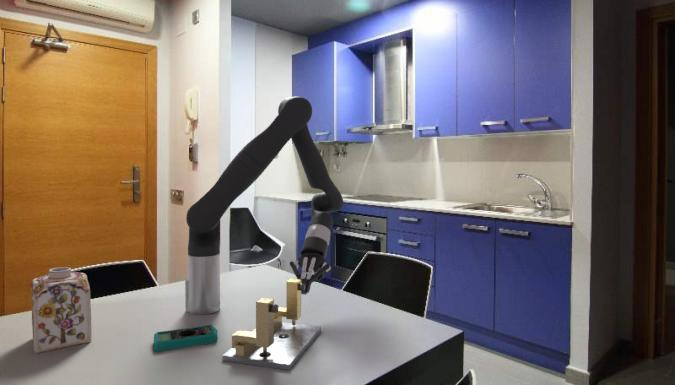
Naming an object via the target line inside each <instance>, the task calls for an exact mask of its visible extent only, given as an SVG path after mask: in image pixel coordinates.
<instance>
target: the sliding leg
mask: <svg viewBox="0 0 675 385" xmlns="http://www.w3.org/2000/svg"><path fill="white" fill-rule="evenodd" d="M304 290H305V284H301V279H297V278H290V279H288V280H286V300H285V301H286V307H280V306H279V309H278V312H277V313H274V316H282V318H283V317H284V318H286V320H291V323H292V325H296V324H297V323H296V322H297V321H298V320H299V319H300V318H301V317H302V294H301V291H304Z"/></svg>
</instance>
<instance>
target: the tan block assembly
mask: <svg viewBox="0 0 675 385" xmlns="http://www.w3.org/2000/svg"><path fill="white" fill-rule="evenodd" d="M279 307H280V306H279V304H275V299H274V298H265V297H261V298H260V299H258V300H257V301H256V302H255V329H253V330H254V331H253V330H252V331H253V332H252V331H247V330H237V331H236V332H234V333H233V334H231V348H235V351H236V356H238V357H245V356H246V355H247V354H248V353H249V352H250V351H251V350H252V349H253V348H255V347H256V346H258V347H263V355H267V348H269V347H270V346H271V345H272V344H273V343H274V330H275V329H276V328H277V327H278V326H279V325H280V324H281V323H282V322H283V317H282V316H274V313H277V312H278V309H279Z"/></svg>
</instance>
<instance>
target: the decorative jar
mask: <svg viewBox="0 0 675 385" xmlns="http://www.w3.org/2000/svg"><path fill="white" fill-rule="evenodd" d="M30 289H31V328H32V343H33V351H34V352H35V353H36V354H40V353H44V352H49V351H53V350H58V349H64V348H68V347H73V346H78V345H82V344H87V343H91V342H92V337H93V336H92V335H93V334H92V330H93V329H92V326H93V325H92V307H91V305H92V302H91V288H90V282H89V279H88V276H87V274H86V273H84V272H79V271H78V272H77V271H72V268H71V267H68V266H67V267H65V266H61V267H60V266H59V267H54V268H53V267H52V268H50V269H49V270H48V274H44V275H42V276H39V277H36V278H33V279H32V280H31V284H30Z"/></svg>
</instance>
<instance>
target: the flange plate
mask: <svg viewBox="0 0 675 385" xmlns="http://www.w3.org/2000/svg"><path fill="white" fill-rule="evenodd" d="M254 330H255V329H253V330H252V331H251V332H253V331H254ZM321 331H322V326H318V325H311V324H310V325H309V324H301V323H296V325H292V322H283V321H282V323H281V324H280V325H279V326H278V327H277V328H276V329H275V330H274V343H273V344H272V345H271V346H270V347H269V348H267V355H263V347H258V346H256V347H255V348H253V349H252V350H251V351H250V352H249V353H248V354H247V355H246V356H245V357H238V356H236V351H235V348H232V347H231V348H229V349H228V350H227V351H226V352H224V354H222V358H221V359H222V362H229V363H236V364H244V365H248V366H249V365H251V366H257V367H263V368H271V369H280V370H287V371H290V370H291V368H292V367H293V366H294V365H295V364H296V362H298V360H299V358H301V356H303V354H304V353H305V352H306V350H307V349H308V348H309V346H310V345H311V344H312V343H313V342H314V340H315V339H316V338H317V336H319V334H320V333H321Z"/></svg>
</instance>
